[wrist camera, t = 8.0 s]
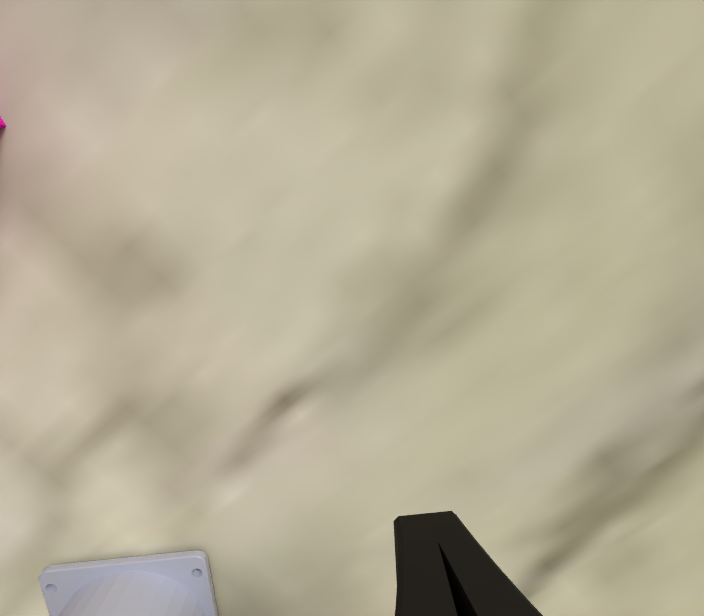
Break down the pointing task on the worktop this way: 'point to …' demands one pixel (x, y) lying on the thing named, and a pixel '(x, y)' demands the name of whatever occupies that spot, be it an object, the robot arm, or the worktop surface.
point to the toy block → (2, 123)
